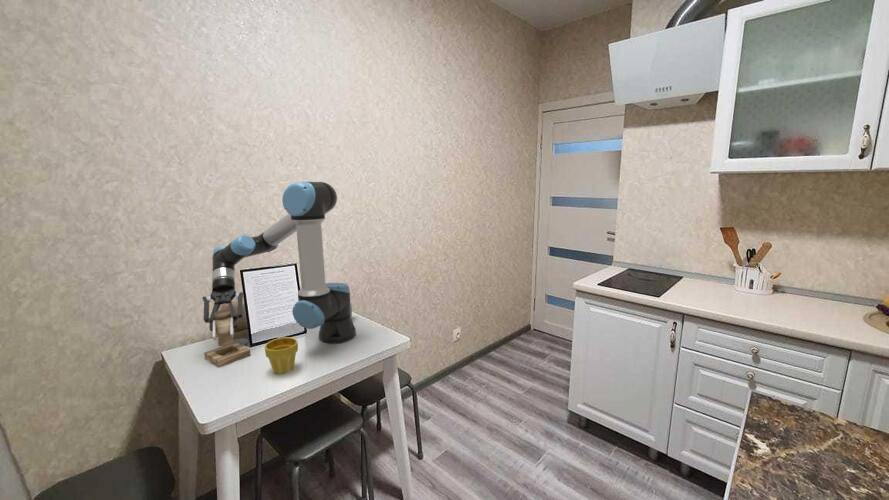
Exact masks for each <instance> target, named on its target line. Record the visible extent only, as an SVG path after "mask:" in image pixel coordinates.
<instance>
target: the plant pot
mask: <svg viewBox="0 0 889 500" xmlns="http://www.w3.org/2000/svg"><path fill="white" fill-rule="evenodd" d="M298 343H299V342H298V340H297V338H294V337H290V336H289V337H287V336H286V337H279V338H275V339H272V340H270V341H268V342H267V343H266V344H265V345H264V354H265V357H266V358H268V360H269V363H270V366H271V369H272V372H273V373H274V374H276V375H277V374H278V375H281V374H286V373H289V372H291V371H292V370H294V368H295V362H296V361H295V360H296V355H297V352H298V350H299V344H298Z"/></svg>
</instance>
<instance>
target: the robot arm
mask: <svg viewBox="0 0 889 500" xmlns="http://www.w3.org/2000/svg"><path fill="white" fill-rule="evenodd" d="M281 200H282V206H283V209H284V210H285V211H286V212H287V213H286V215H284V216H283V217H282V218H281V219H279V220H278V221H277V222H275V223H273V224H272V225H271V226H269V227H268V228H267V229H266V230H264V231H263V232H262V233H261V234H259V235H256V236H252V237H251V236H250V235H245V234H241V235H239V236H237V237H236V238H234V239H233V240H231V242H230V243H229V244H228V245H221V246H217V247H215V248H214V249H213V252H212V253H213V254H212V259H211V260H212V273H211V274H212V277H211V278H212V279H211V281H212V283H211V284H212V285H211V293H210V295H208V296H205V295H204V296H202V297H201V298H202V301H203V321H204V323H205V324H208V323H209V326H208V327H209V331H210V332H212V339H213V340H214V341H216V340H217V341H218V338H217V330H216V322H215V319H214V313H215V312H217V311H219V309H220V308H221V305H223V304H227V305H228V307H229V310H230V312H231V317H230V335H231V337H233V338H235V330H234V329H235V328H236V329H237V327H238V319H242V318H243V299H244V292H237V291H236V285H235V284H236V282H235V281H236V279H235V277H236V276H235V266H236V265H237V264H238V263H239V262H241V261H242V260H244V258H249V257H252V256H256V255H261V254H265V253H271V252H272V251H275V250H276V249H277V248H278V246H279V244H280V243H281V242H283V241H286V239H287V238H289V237H290V236H292V235H294V234H295V233H296V237H297V249H298V260H299V261H298V263H299V272H300V284H301V287H300V289H299V290H298V292H297V300H298V301H296V302H295V304H294V305H293V307H292V310H291V311H292V316H293V318H294V320H295V322H296V323H297V324H299V326H300V327H302V328H303V329H304V328H305V329H307V330H312V329H316V328H318V327H319V330H318V340H319V341H320V342H322V343H325V344H341V343H345V341H346V342H348V340H349V341H351V340H353V339H354V338H355V337H356V327H355V325H354V324H355V323H354V322H353V319H352V316H351V310H350V302H351V291H350V286H349V285H348V284H347V283H344V282H326V273H325V271H326V270H325V258H324V246H323V233H322V232H323V230H322V223H323V222H324V220H325V219H326V215H327V214H329V212H330V211H331V210H333V209H334V207H335V206H336V204H337V202H338V195H337V192H336V190H335V189H334V187H333V186H332V185H330V184H329V183H327V182H324V181H295V182H293V183H291V184H289V185H288V186H287V187H286V188H285V189H284V192H283V194H282V199H281ZM235 297H236V299H237V313H236V311H235V308H234V306H233V303H232V300H234V298H235ZM211 300H212V301H214V304H213V307H212V310H211V312H210V302H211ZM210 313H211V314H210ZM354 336H355V337H354ZM353 337H354V338H353ZM350 339H351V340H350Z"/></svg>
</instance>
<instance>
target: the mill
mask: <svg viewBox="0 0 889 500" xmlns="http://www.w3.org/2000/svg"><path fill="white" fill-rule="evenodd" d="M230 318H232V313H231V311H230V309H222V310H218V311H217V312H215V313H214V319H215V322H216V330H217V343H218V346H219V347H222V346H225V345H229V344H231V343H233V340H234V337H231V335H230Z"/></svg>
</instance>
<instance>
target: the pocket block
mask: <svg viewBox="0 0 889 500" xmlns="http://www.w3.org/2000/svg"><path fill="white" fill-rule="evenodd" d="M203 353H204V358H205V360H207V361H208V362H209V363H212V364H213V365H214V366H216V367H217V368H221V367H224V366H226V365H229V364H232V363H234V362H237V361H239V360H240V361H241V360H242V359H245V358H247V357H250V356H251V349H250V348H248V347H246V346H245V345H241V344H239V343H237V342H233V343H231V344H229V345H225V346H219V347H217V348H213V349H211V350H207V351H205V352H203Z"/></svg>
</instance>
